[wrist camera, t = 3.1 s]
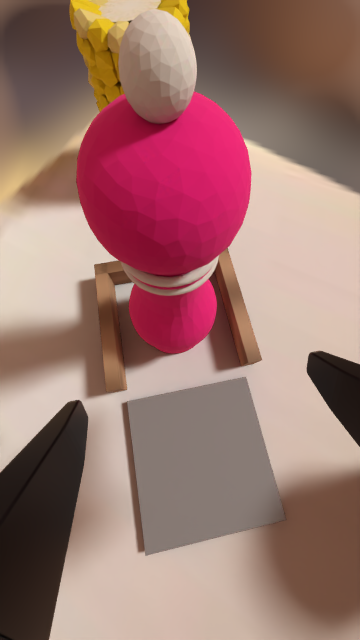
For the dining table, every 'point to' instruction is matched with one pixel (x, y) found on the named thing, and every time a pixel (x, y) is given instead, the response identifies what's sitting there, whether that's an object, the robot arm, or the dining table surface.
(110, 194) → the pepper mill
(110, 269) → the frame
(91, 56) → the food
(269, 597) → the dining table surface
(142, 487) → the rubber mat
